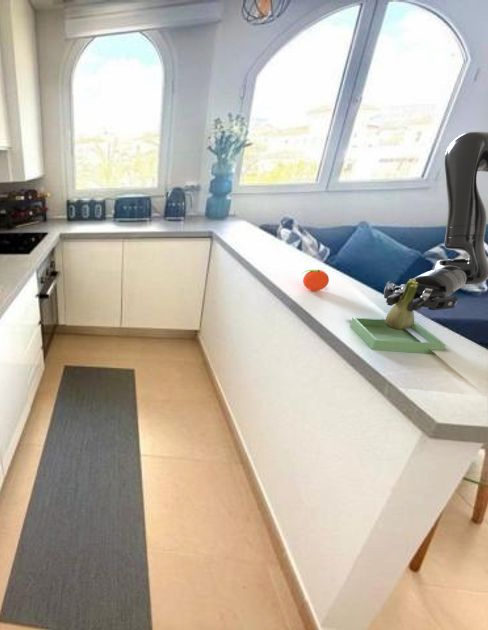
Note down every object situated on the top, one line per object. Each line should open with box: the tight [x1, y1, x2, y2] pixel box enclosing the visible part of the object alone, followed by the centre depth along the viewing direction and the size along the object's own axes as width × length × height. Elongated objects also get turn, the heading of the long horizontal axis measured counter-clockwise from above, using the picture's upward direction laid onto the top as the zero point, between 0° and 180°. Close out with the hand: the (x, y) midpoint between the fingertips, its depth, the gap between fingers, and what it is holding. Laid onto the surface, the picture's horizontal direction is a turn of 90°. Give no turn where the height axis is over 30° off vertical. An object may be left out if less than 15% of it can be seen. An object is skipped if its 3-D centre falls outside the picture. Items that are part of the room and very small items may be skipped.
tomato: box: [302, 269, 330, 292], centre depth 113 cm, size 8×7×7 cm
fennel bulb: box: [385, 278, 418, 330], centre depth 81 cm, size 6×5×12 cm
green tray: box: [349, 316, 447, 355], centre depth 84 cm, size 13×12×3 cm
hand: (400, 304), depth 80 cm, fingers closed on fennel bulb, 3 cm apart
